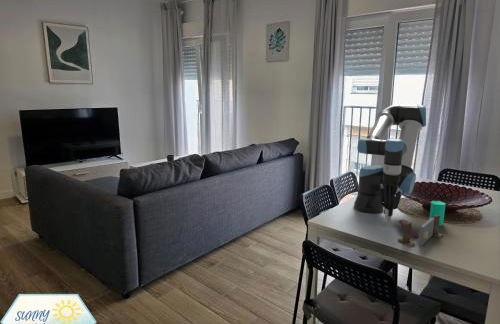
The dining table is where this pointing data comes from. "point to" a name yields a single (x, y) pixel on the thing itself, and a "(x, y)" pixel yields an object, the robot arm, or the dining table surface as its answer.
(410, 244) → the brown bent pieces
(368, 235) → the dining table surface
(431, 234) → the door
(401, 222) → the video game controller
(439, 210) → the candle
